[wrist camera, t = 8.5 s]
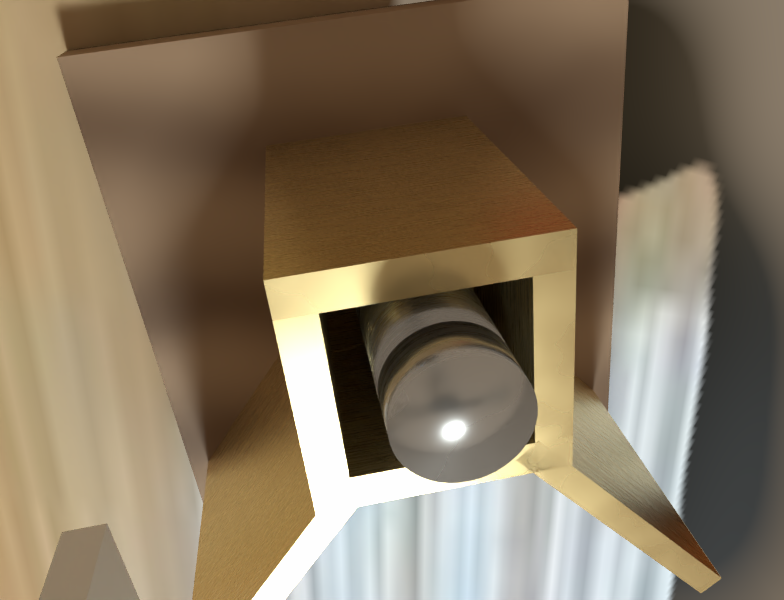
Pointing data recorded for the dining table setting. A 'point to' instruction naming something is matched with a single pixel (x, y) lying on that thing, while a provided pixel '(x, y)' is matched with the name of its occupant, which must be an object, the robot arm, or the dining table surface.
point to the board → (322, 119)
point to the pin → (447, 385)
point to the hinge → (352, 368)
